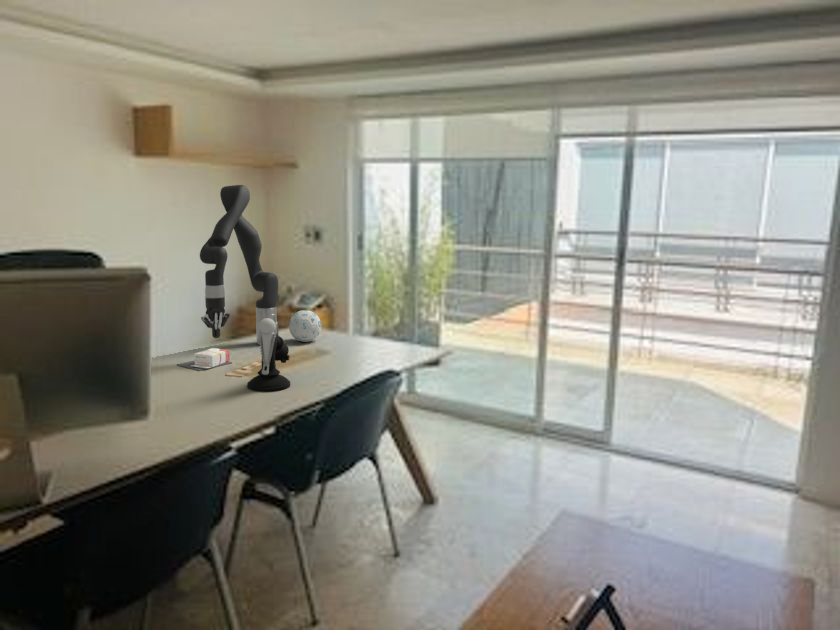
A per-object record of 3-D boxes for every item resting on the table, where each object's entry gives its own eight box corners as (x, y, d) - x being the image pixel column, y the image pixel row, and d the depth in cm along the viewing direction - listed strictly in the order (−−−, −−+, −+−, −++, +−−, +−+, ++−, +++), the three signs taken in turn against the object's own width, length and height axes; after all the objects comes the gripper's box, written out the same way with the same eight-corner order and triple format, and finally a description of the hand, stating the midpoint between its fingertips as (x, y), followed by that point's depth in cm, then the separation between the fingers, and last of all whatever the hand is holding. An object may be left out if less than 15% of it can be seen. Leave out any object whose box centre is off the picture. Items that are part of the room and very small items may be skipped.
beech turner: (251, 363, 269) (251, 360, 269) (267, 364, 268) (267, 361, 267) (225, 375, 250) (225, 372, 250) (241, 377, 249) (241, 374, 248)
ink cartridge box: (229, 349, 270) (207, 357, 256) (229, 361, 271) (207, 369, 257) (211, 347, 272) (189, 354, 258) (212, 358, 273) (189, 367, 259)
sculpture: (240, 390, 232) (238, 320, 227) (265, 373, 255) (264, 309, 250) (282, 393, 230) (281, 323, 225) (303, 375, 253) (302, 311, 248)
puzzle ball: (300, 346, 302) (299, 314, 299) (283, 340, 313) (282, 309, 310) (327, 342, 312) (327, 310, 309) (310, 336, 323) (309, 306, 320)
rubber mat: (210, 357, 276) (210, 356, 276) (232, 363, 269) (232, 362, 269) (177, 365, 263) (177, 364, 263) (199, 371, 256) (199, 370, 256)
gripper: (222, 293, 274) (223, 334, 277) (195, 296, 263) (196, 339, 266) (234, 295, 269) (235, 336, 272) (207, 298, 259) (208, 341, 262)
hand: (216, 337), depth 269 cm, fingers closed
